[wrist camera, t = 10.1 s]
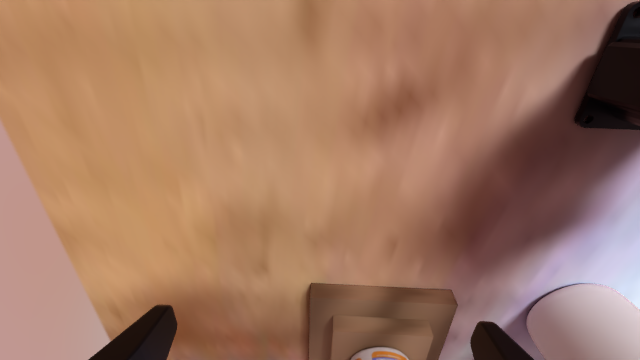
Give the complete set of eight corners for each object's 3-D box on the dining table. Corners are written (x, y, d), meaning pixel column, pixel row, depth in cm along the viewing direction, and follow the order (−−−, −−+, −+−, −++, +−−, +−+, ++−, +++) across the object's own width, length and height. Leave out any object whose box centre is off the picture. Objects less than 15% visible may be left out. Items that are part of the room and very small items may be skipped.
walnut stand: (451, 290, 25) (465, 321, 22) (424, 371, 31) (432, 404, 28) (311, 283, 25) (308, 313, 23) (309, 365, 31) (307, 396, 28)
